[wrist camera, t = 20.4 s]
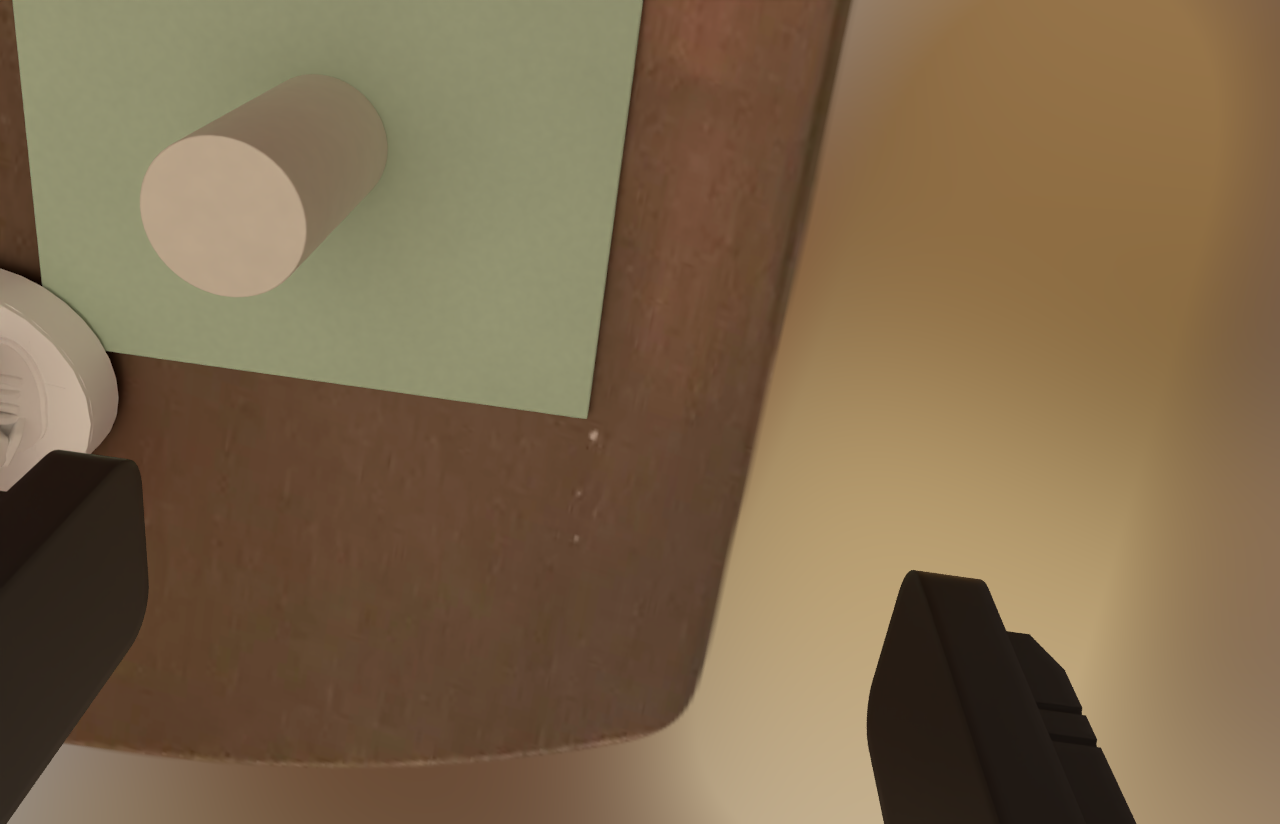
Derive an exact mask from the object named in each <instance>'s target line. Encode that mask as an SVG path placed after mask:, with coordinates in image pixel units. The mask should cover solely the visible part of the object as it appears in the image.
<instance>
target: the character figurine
mask: <svg viewBox="0 0 1280 824" xmlns="http://www.w3.org/2000/svg"><path fill="white" fill-rule="evenodd" d="M118 399H119V397H118V389H117V381H116V377H115V374H114V371H113V368H112V365H111V362H110V359H109V357H108V355H107V354H106V352H105V350H104V348H103V346H102V345H101V343H100V341H99V339H98V338H97V337H96V335H95V334H94V333H93V331H92V330H91V329H90V328H89V326H88V325H87V324H86V323H85V321H84V320H83V319H82V318H81V317H80V316H79V315H78V314H77V313H76V312H75V311H73V310H72V309H71V308H70V307H69V306H68V305H67V304H66V303H65V302H64V301H62V300H61V299H59V298H58V297H57V296H55V295H54V294H52V293H51V292H50V291H48V290H47V289H45V288H44V287H42V286H40V285H38V284H36V283H34V282H32V281H30V280H28V279H27V278H25V277H23V276H21V275H18V274H15V273H12V272H9V271H6V270H3V269H0V491H6V492H7V491H8V490H9V489H10V488H11V487H12V486H13V485H14V484H15V483H16V482H17V481H19V480H20V479H21V478H22V477H23V476H24V475H25V474H26V473H27V472H28V471H29V470H30V469H31V468H33V467H34V466H35V465H36V464H37V463H38V462H39V461H40V460H41V459H42V458H43V457H44V456H45V455H47V454H48V453H49V452H51V451H53V450H65V451H73V452H80V453H87V454H91V453H92V452H93V451H94V450H95V449H96V448H97V447H98V446H99V445H100V444H101V443H102V441H103V440H104V439H105V437H106V436H107V435H108V434H109V432H110V431H111V428H112V426H113V423H114V421H115V418H116V416H117V408H118Z"/></svg>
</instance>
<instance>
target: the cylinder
mask: <svg viewBox="0 0 1280 824" xmlns="http://www.w3.org/2000/svg"><path fill="white" fill-rule="evenodd" d="M387 153H388V145H387V137H386V132H385V129H384V126H383V123H382V121H381V118H380V116H379V115H378V113H377V111H376V109H375V108H374V107H373V105H372V104H371V103H370V101H369V100H368V99H367V98H366V97H365V96H364V95H363V94H362V93H360V92H359V91H358V90H357V89H356V88H354V87H352V86H351V85H349V84H348V83H346V82H344V81H342V80H339V79H337V78H334V77H330V76H326V75H318V74H307V75H301V76H296V77H294V78H291V79H288V80H286V81H285V82H283V83H281V84H279V85H277V86H275V87H274V88H272V89H270V90H268V91H266V92H265V93H263V94H261V95H259V96H257V97H256V98H254V99H252V100H250V101H248V102H247V103H245V104H243V105H241V106H239V107H238V108H236V109H234V110H232V111H230V112H229V113H227V114H225V115H223V116H221V117H220V118H218V119H216V120H214V121H212V122H211V123H209V124H207V125H205V126H203V127H202V128H200V129H198V130H196V131H194V132H193V133H191V134H189V135H187V136H185V137H184V138H182V139H180V140H178V141H176V142H175V143H173V144H171V145H169V146H168V147H167V148H165V149H164V150H163V151H161V152H160V153H159V154H158V155H157V157H156V158H155V159H154V160H153V161H152V163H151V164H150V166H149V167H148V170H147V172H146V174H145V176H144V179H143V182H142V185H141V192H140V212H141V219H142V223H143V226H144V229H145V232H146V235H147V237H148V239H149V241H150V243H151V245H152V247H153V248H154V250H155V251H156V253H157V254H158V256H159V257H160V258H161V260H162V261H163V262H164V263H165V264H166V265H167V266H168V267H169V268H170V269H171V270H172V271H173V272H174V273H175V274H176V275H178V276H179V277H180V278H182V279H183V280H184V281H186V282H188V283H189V284H191V285H193V286H195V287H197V288H199V289H201V290H203V291H206V292H209V293H212V294H216V295H220V296H226V297H249V296H255V295H259V294H262V293H265V292H268V291H270V290H272V289H274V288H276V287H277V286H279V285H280V284H282V283H283V282H284V281H285V280H286V279H287V278H288V277H290V276H291V274H292V273H293V272H294V271H295V270H296V269H297V268H298V267H299V266H300V265H301V264H302V263H303V262H304V261H305V260H306V259H307V258H308V257H309V255H310V254H311V253H312V252H313V251H314V250H315V249H316V248H317V247H318V246H319V245H320V244H321V243H322V242H323V241H324V240H325V239H326V238H327V236H328V235H329V234H330V233H331V232H332V231H333V230H334V229H335V228H336V227H337V226H338V225H339V224H340V223H341V222H342V221H343V220H344V219H345V218H346V216H347V215H348V214H349V213H350V212H351V211H352V210H353V209H354V208H355V207H356V206H357V205H358V204H359V203H360V202H361V201H362V200H363V199H364V197H365V196H366V195H367V194H368V193H369V192H370V191H371V190H372V189H373V188H374V187H375V185H376V184H377V183H378V181H379V179H380V178H381V176H382V174H383V171H384V169H385V165H386V161H387Z"/></svg>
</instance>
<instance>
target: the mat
mask: <svg viewBox="0 0 1280 824" xmlns="http://www.w3.org/2000/svg"><path fill="white" fill-rule="evenodd" d="M12 1H13V10H14V20H15V30H16V39H17V49H18V59H19V68H20V78H21V87H22V97H23V107H24V116H25V126H26V135H27V145H28V155H29V164H30V174H31V184H32V193H33V203H34V212H35V222H36V232H37V241H38V251H39V261H40V270H41V280H42V287H44V288H45V289H47V290H48V291H50V292H51V293H52V294H54V295H55V296H57V297H58V298H59V299H61V300H62V301H64V302H65V303H66V304H67V305H68V306H69V307H70V308H71V309H72V310H73V311H75V312H76V313H77V314H78V315H79V316H80V317H81V318H82V319H83V320H84V321H85V323H86V324H87V325H88V326H89V328H90V329H91V330H92V331H93V333H94V334H95V335H96V337H97V338H98V339H99V341H100V343H101V345H102V346H103V348H104V350H105V351H109V352H116V353H124V354H131V355H138V356H145V357H152V358H159V359H166V360H173V361H180V362H187V363H194V364H201V365H208V366H215V367H222V368H229V369H237V370H244V371H251V372H258V373H265V374H272V375H279V376H286V377H293V378H300V379H307V380H314V381H321V382H328V383H335V384H342V385H349V386H357V387H364V388H371V389H378V390H385V391H392V392H399V393H406V394H413V395H420V396H427V397H434V398H441V399H448V400H455V401H462V402H470V403H477V404H484V405H491V406H498V407H505V408H512V409H519V410H526V411H533V412H540V413H547V414H554V415H561V416H568V417H575V418H583V419H587V417H588V412H589V404H590V397H591V389H592V382H593V374H594V367H595V359H596V352H597V344H598V337H599V330H600V322H601V315H602V307H603V300H604V292H605V285H606V277H607V270H608V262H609V255H610V247H611V240H612V232H613V225H614V217H615V210H616V202H617V195H618V187H619V180H620V172H621V165H622V157H623V150H624V142H625V135H626V128H627V120H628V113H629V105H630V98H631V90H632V83H633V75H634V68H635V60H636V53H637V45H638V38H639V30H640V23H641V15H642V8H643V0H12ZM307 74H318V75H326V76H330V77H334V78H337V79H339V80H342V81H344V82H346V83H348V84H349V85H351V86H352V87H354V88H356V89H357V90H358V91H359V92H360V93H362V94H363V95H364V96H365V97H366V98H367V99H368V100H369V101H370V103H371V104H372V105H373V107H374V108H375V109H376V111H377V113H378V115H379V116H380V118H381V121H382V123H383V126H384V129H385V132H386V137H387V145H388V153H387V161H386V165H385V169H384V171H383V174H382V176H381V178H380V179H379V181H378V183H377V184H376V185H375V187H374V188H373V189H372V190H371V191H370V192H369V193H368V194H367V195H366V196H365V197H364V199H363V200H362V201H361V202H360V203H359V204H358V205H357V206H356V207H355V208H354V209H353V210H352V211H351V212H350V213H349V214H348V215H347V216H346V218H345V219H344V220H343V221H342V222H341V223H340V224H339V225H338V226H337V227H336V228H335V229H334V230H333V231H332V232H331V233H330V234H329V235H328V236H327V238H326V239H325V240H324V241H323V242H322V243H321V244H320V245H319V246H318V247H317V248H316V249H315V250H314V251H313V252H312V253H311V254H310V255H309V257H308V258H307V259H306V260H305V261H304V262H303V263H302V264H301V265H300V266H299V267H298V268H297V269H296V270H295V271H294V272H293V273H292V274H291V276H290V277H288V278H287V279H286V280H285V281H284V282H283V283H282V284H280V285H279V286H277V287H276V288H274V289H272V290H270V291H268V292H265V293H262V294H259V295H255V296H249V297H226V296H220V295H216V294H212V293H209V292H206V291H203V290H201V289H199V288H197V287H195V286H193V285H191V284H189V283H188V282H186V281H184V280H183V279H182V278H180V277H179V276H178V275H176V274H175V273H174V272H173V271H172V270H171V269H170V268H169V267H168V266H167V265H166V264H165V263H164V262H163V261H162V260H161V258H160V257H159V256H158V254H157V253H156V251H155V250H154V248H153V247H152V245H151V243H150V241H149V239H148V237H147V235H146V232H145V229H144V226H143V223H142V219H141V212H140V192H141V185H142V182H143V179H144V176H145V174H146V172H147V170H148V167H149V166H150V164H151V163H152V161H153V160H154V159H155V158H156V157H157V155H158V154H159V153H160V152H161V151H163V150H164V149H165V148H167V147H168V146H169V145H171V144H173V143H175V142H176V141H178V140H180V139H182V138H184V137H185V136H187V135H189V134H191V133H193V132H194V131H196V130H198V129H200V128H202V127H203V126H205V125H207V124H209V123H211V122H212V121H214V120H216V119H218V118H220V117H221V116H223V115H225V114H227V113H229V112H230V111H232V110H234V109H236V108H238V107H239V106H241V105H243V104H245V103H247V102H248V101H250V100H252V99H254V98H256V97H257V96H259V95H261V94H263V93H265V92H266V91H268V90H270V89H272V88H274V87H275V86H277V85H279V84H281V83H283V82H285V81H286V80H288V79H291V78H294V77H296V76H301V75H307Z"/></svg>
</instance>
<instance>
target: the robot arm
mask: <svg viewBox="0 0 1280 824" xmlns="http://www.w3.org/2000/svg"><path fill="white" fill-rule="evenodd" d="M148 589H149V585H148V567H147V552H146V538H145V523H144V508H143V493H142V481H141V475H140V471H139V469H138V466H137V465H136V463H135V462H134V461H132V460H129V459H123V458H116V457H109V456H101V455H94V454H87V453H80V452H73V451H65V450H53V451H51V452H49V453H48V454H47V455H45V456H44V457H43V458H42V459H41V460H40V461H39V462H38V463H37V464H36V465H35V466H34V467H33V468H31V469H30V470H29V471H28V472H27V473H26V474H25V475H24V476H23V477H22V478H21V479H20V480H19V481H17V482H16V483H15V484H14V485H13V486H12V487H11V488H10V489H9V490H8V491H7V492H6V491H0V824H7V822H8V821H9V819H10V818H11V817H12V815H13V814H14V812H15V811H16V809H17V808H18V807H19V805H20V804H21V802H22V801H23V799H24V798H25V797H26V795H27V794H28V792H29V791H30V790H31V788H32V787H33V785H34V784H35V782H36V781H37V779H38V778H39V777H40V775H41V774H42V773H43V771H44V770H45V768H46V767H47V765H48V764H49V763H50V761H51V760H52V758H53V757H54V755H55V754H56V753H57V751H58V750H59V748H60V747H61V746H62V744H63V743H64V741H65V740H66V738H67V737H68V736H69V734H70V733H71V731H72V730H73V728H74V727H75V726H76V724H77V723H78V721H79V720H80V719H81V717H82V716H83V714H84V713H85V711H86V710H87V709H88V707H89V706H90V704H91V703H92V701H93V700H94V699H95V697H96V696H97V694H98V693H99V692H100V690H101V689H102V687H103V686H104V684H105V683H106V682H107V680H108V679H109V677H110V676H111V674H112V673H113V672H114V670H115V669H116V667H117V666H118V665H119V663H120V662H121V660H122V659H123V657H124V656H125V655H126V653H127V652H128V650H129V649H130V647H131V646H132V644H133V643H134V641H135V639H136V637H137V635H138V633H139V630H140V628H141V625H142V622H143V619H144V615H145V611H146V606H147V600H148ZM867 740H868V747H869V752H870V757H871V762H872V767H873V771H874V776H875V781H876V786H877V791H878V796H879V801H880V806H881V810H882V816H883V820H884V824H1136V822H1135V820H1134V818H1133V815H1132V813H1131V812H1130V809H1129V807H1128V805H1127V803H1126V801H1125V798H1124V796H1123V794H1122V792H1121V790H1120V788H1119V786H1118V783H1117V781H1116V779H1115V777H1114V775H1113V773H1112V771H1111V768H1110V766H1109V764H1108V762H1107V760H1106V758H1105V756H1104V754H1103V751H1102V749H1101V748H1098V747H1097V746H1096V742H1097V739H1096V736H1095V734H1094V732H1093V730H1092V728H1091V726H1090V723H1089V721H1088V719H1087V717H1086V716H1085V715H1082V706H1081V704H1080V702H1079V700H1078V698H1077V696H1076V693H1075V691H1074V689H1073V687H1072V685H1071V683H1070V681H1069V679H1068V676H1067V674H1066V672H1065V670H1064V669H1063V668H1062V667H1061V666H1060V665H1059V664H1058V663H1057V662H1056V661H1055V660H1054V659H1053V658H1052V657H1051V656H1050V655H1049V654H1048V653H1047V652H1046V651H1045V650H1044V649H1043V648H1042V647H1041V646H1040V645H1039V644H1038V643H1037V642H1036V641H1035V640H1034V639H1033V638H1032V637H1031V636H1030V635H1029V634H1022V633H1015V632H1008V631H1006V630H1005V627H1004V625H1003V622H1002V620H1001V618H1000V615H999V613H998V610H997V608H996V606H995V603H994V601H993V598H992V596H991V593H990V591H989V589H988V587H987V585H986V583H985V582H984V581H982V580H980V579H973V578H966V577H958V576H951V575H944V574H937V573H929V572H923V571H916V570H911V571H909V572H908V573H907V575H906V576H905V578H904V580H903V582H902V585H901V587H900V590H899V594H898V597H897V600H896V604H895V607H894V611H893V614H892V617H891V620H890V624H889V627H888V631H887V635H886V638H885V641H884V644H883V648H882V651H881V654H880V658H879V661H878V665H877V668H876V672H875V675H874V678H873V682H872V685H871V690H870V695H869V701H868V711H867Z"/></svg>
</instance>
